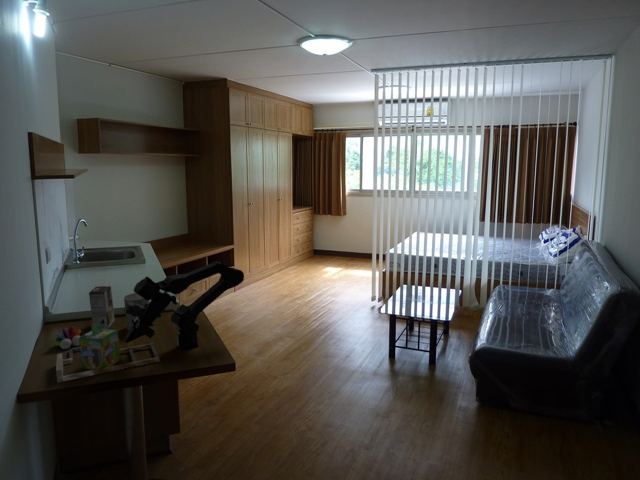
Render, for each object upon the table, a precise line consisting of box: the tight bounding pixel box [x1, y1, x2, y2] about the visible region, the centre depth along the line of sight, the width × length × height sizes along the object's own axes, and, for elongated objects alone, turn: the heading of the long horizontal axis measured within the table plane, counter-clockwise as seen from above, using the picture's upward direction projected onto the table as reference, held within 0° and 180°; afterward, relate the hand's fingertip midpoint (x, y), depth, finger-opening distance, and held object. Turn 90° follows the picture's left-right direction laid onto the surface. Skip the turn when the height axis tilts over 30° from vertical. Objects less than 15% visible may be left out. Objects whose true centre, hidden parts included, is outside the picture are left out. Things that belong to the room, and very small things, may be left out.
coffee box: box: [88, 285, 116, 329], centre depth 201 cm, size 9×6×16 cm
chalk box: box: [79, 322, 122, 371], centre depth 164 cm, size 9×9×15 cm
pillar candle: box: [123, 292, 150, 332], centre depth 199 cm, size 10×10×15 cm
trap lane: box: [55, 342, 161, 383], centre depth 170 cm, size 32×25×4 cm
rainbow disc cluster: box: [54, 326, 82, 350], centre depth 182 cm, size 8×10×7 cm
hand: (125, 342), depth 167 cm, fingers closed
